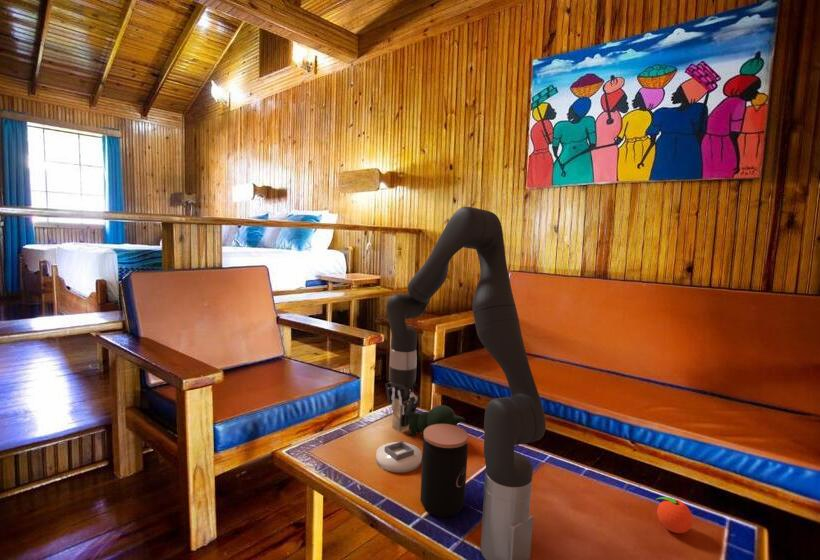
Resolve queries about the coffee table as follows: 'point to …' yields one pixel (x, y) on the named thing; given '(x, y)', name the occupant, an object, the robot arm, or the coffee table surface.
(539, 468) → the coffee table surface
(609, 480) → the coffee table surface
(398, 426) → the wood grain block
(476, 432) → the coffee table surface
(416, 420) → the toy figurine
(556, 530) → the coffee table surface
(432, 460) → the coffee jar
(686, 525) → the clementine
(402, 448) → the candle dish
